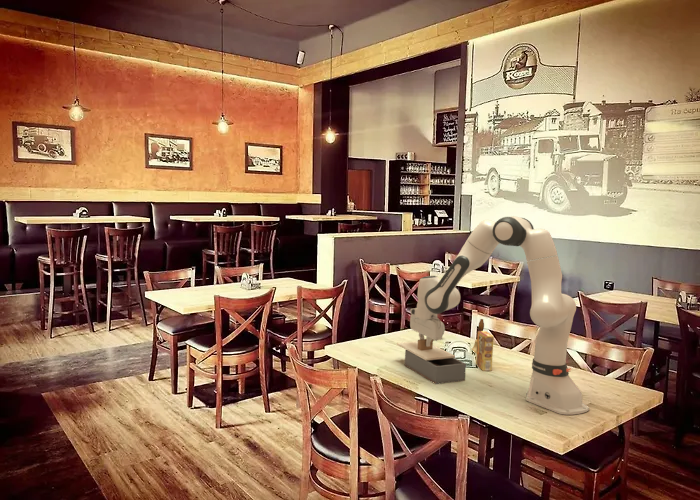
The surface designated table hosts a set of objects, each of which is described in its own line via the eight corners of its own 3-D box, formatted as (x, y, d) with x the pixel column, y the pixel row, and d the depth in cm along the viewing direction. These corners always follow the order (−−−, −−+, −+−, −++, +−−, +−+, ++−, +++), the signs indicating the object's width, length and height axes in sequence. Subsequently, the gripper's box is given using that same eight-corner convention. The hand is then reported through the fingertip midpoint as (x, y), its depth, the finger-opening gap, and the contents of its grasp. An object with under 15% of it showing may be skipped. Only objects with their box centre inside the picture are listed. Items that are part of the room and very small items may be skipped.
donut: (441, 337, 283) (442, 318, 282) (445, 339, 280) (446, 320, 279) (426, 339, 277) (427, 320, 276) (431, 341, 275) (432, 322, 274)
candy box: (492, 371, 231) (494, 336, 229) (482, 371, 230) (485, 336, 228) (484, 364, 239) (486, 330, 238) (475, 364, 239) (477, 330, 237)
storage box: (464, 380, 217) (465, 363, 216) (435, 384, 211) (436, 367, 211) (432, 362, 239) (432, 347, 238) (404, 365, 233) (405, 349, 232)
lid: (454, 357, 223) (455, 346, 223) (426, 360, 217) (426, 348, 217) (423, 342, 245) (424, 331, 245) (396, 344, 239) (397, 334, 239)
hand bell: (478, 348, 265) (480, 316, 264) (491, 352, 258) (493, 320, 257) (466, 350, 260) (468, 318, 259) (479, 355, 254) (481, 321, 252)
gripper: (447, 318, 221) (445, 351, 223) (420, 307, 240) (418, 338, 241) (434, 319, 219) (432, 352, 220) (408, 308, 237) (406, 339, 239)
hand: (425, 344), depth 231 cm, fingers closed on lid, 2 cm apart
